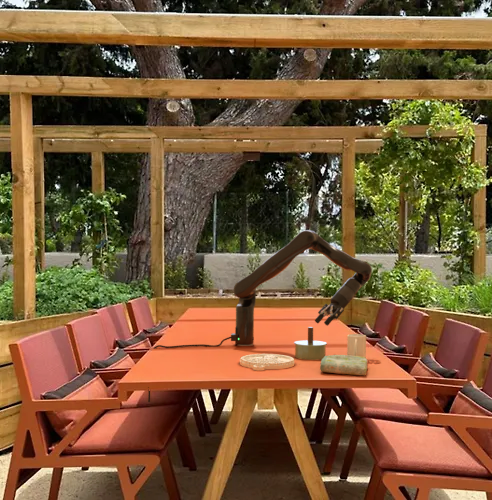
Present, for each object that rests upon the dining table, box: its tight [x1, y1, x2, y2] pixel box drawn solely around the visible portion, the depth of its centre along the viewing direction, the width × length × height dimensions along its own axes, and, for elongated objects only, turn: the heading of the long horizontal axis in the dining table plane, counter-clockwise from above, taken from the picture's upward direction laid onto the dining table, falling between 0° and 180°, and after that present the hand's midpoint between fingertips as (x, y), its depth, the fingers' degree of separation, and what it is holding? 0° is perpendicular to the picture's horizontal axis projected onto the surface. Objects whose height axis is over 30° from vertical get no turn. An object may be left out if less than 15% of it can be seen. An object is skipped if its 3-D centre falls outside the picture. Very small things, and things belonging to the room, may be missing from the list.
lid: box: [293, 326, 328, 346], centre depth 273 cm, size 15×15×8 cm
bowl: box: [294, 344, 327, 361], centre depth 273 cm, size 14×14×6 cm
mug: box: [346, 333, 367, 359], centre depth 261 cm, size 12×8×12 cm
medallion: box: [239, 353, 296, 372], centre depth 256 cm, size 24×27×2 cm
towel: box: [319, 354, 368, 376], centre depth 245 cm, size 18×21×5 cm
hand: (320, 323), depth 275 cm, fingers open, 8 cm apart
